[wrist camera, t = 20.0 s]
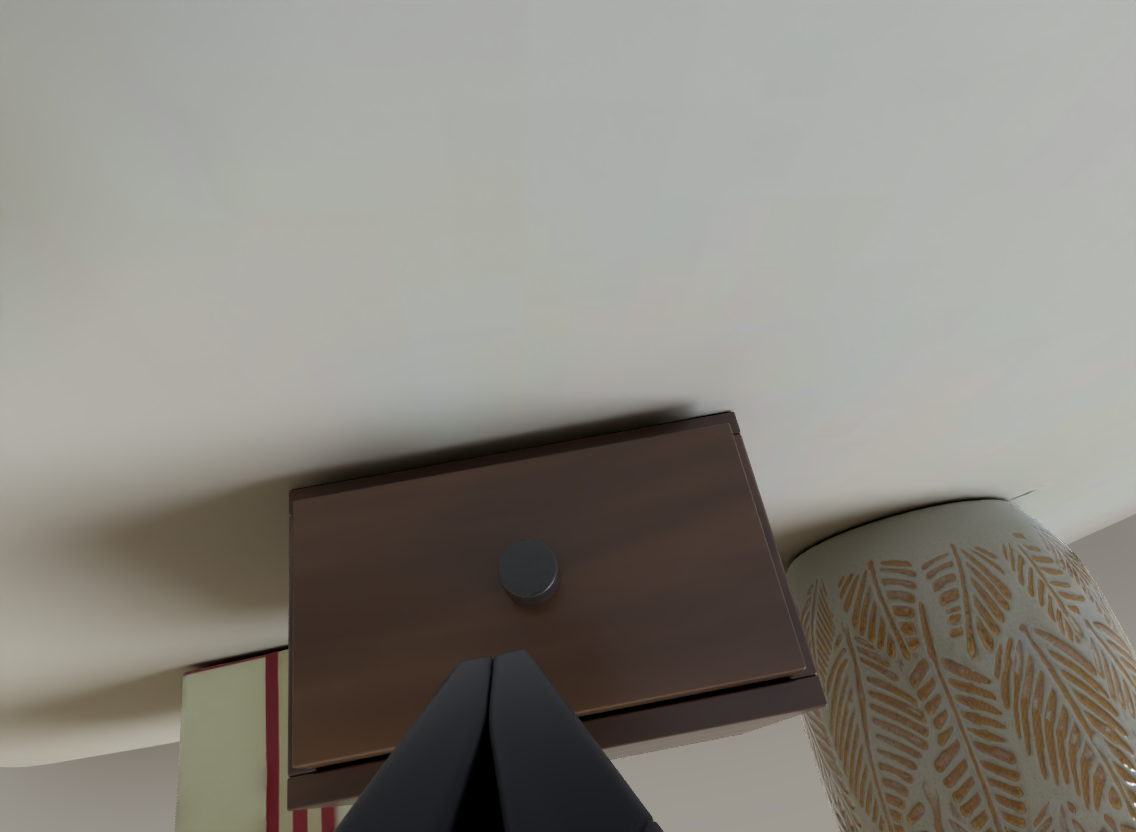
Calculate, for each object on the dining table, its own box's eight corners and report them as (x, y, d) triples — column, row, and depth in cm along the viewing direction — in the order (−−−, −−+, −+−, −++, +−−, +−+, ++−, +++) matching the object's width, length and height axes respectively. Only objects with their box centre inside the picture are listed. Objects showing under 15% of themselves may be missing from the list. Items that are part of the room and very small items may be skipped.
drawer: (275, 485, 20) (271, 768, 17) (736, 403, 21) (820, 661, 17) (399, 596, 32) (411, 772, 29) (687, 542, 33) (731, 710, 30)
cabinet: (288, 490, 23) (285, 811, 19) (734, 410, 23) (828, 705, 19) (398, 590, 35) (411, 799, 31) (689, 537, 35) (741, 734, 31)
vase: (852, 584, 54) (1013, 1029, 42) (701, 580, 44) (856, 1168, 32) (1095, 497, 43) (1412, 1072, 31) (969, 465, 33) (1370, 1309, 21)
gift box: (534, 642, 53) (575, 919, 45) (303, 692, 55) (304, 968, 47) (459, 597, 38) (500, 1003, 30) (143, 669, 39) (105, 1069, 32)
